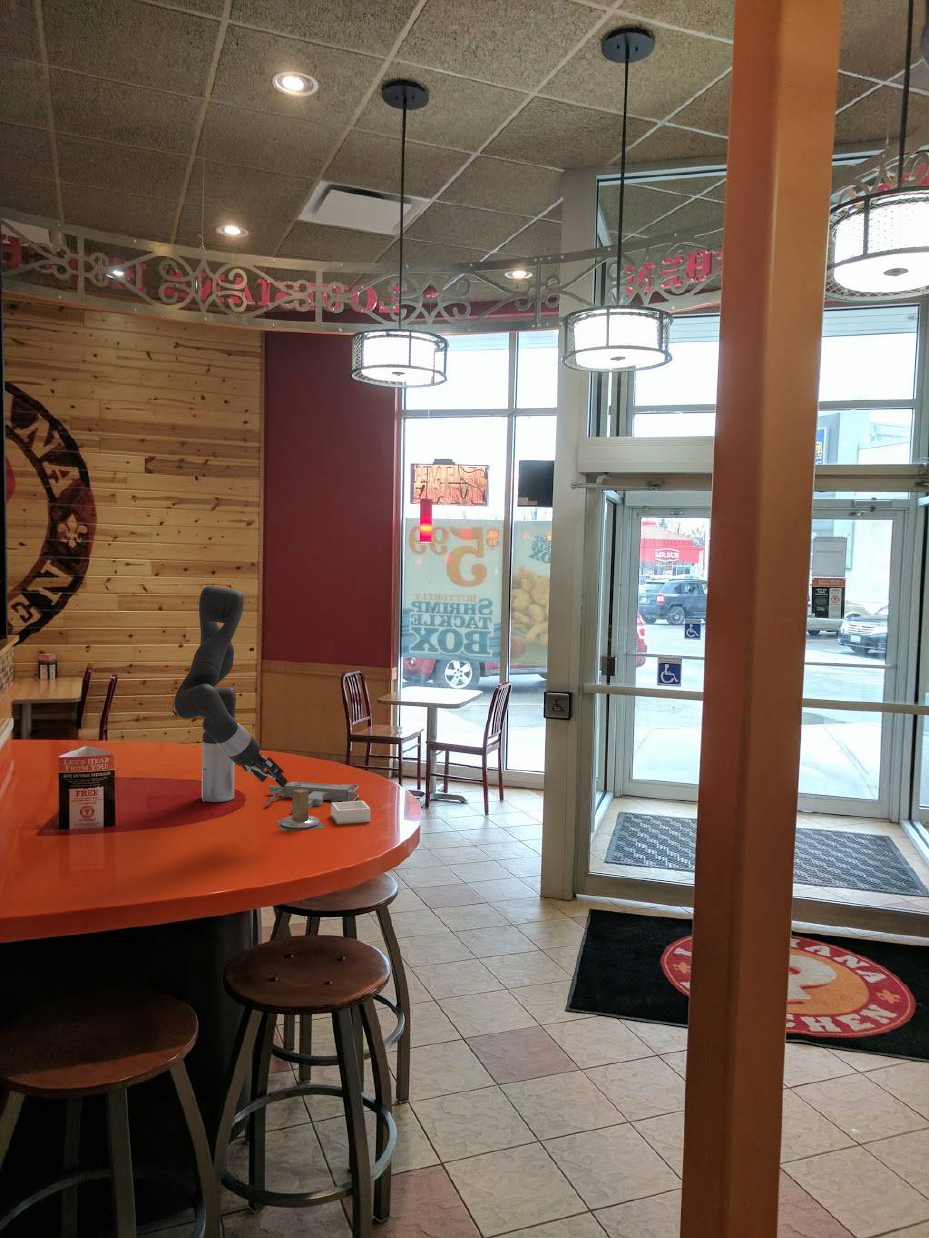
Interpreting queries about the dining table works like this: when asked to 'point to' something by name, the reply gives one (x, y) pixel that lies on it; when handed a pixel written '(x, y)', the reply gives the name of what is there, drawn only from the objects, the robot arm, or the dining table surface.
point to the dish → (350, 812)
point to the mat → (298, 829)
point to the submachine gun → (316, 792)
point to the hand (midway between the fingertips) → (274, 781)
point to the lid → (300, 812)
